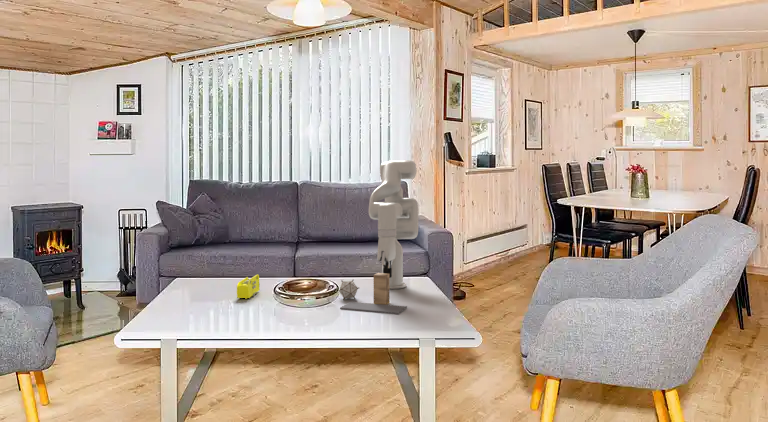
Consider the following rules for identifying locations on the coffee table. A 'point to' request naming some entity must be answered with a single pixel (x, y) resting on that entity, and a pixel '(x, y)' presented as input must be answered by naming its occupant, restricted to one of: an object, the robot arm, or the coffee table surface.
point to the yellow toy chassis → (248, 287)
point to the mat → (374, 307)
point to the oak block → (381, 288)
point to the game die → (348, 289)
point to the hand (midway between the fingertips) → (387, 277)
